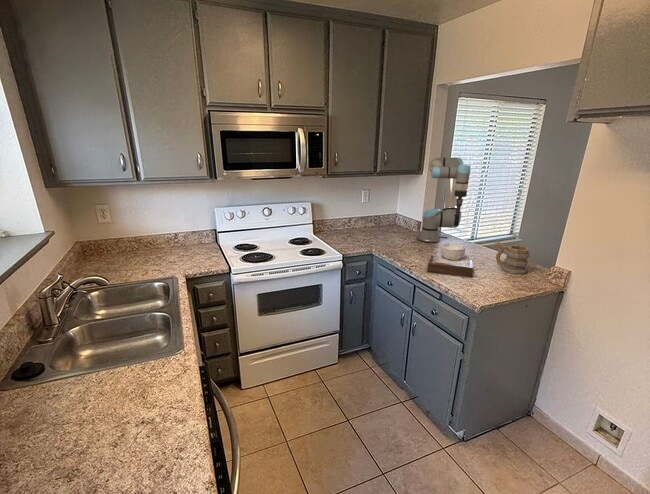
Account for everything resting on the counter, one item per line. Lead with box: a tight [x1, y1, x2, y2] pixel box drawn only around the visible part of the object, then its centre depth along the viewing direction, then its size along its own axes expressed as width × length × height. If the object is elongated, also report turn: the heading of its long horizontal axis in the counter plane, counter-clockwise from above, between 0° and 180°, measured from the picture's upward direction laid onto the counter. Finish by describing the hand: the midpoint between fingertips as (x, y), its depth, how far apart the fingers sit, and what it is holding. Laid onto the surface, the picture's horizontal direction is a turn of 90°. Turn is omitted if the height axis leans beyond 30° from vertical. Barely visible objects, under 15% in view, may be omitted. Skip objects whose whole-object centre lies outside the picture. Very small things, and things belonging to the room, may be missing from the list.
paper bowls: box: [439, 243, 466, 261], centre depth 231 cm, size 15×15×8 cm
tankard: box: [494, 241, 531, 275], centre depth 212 cm, size 20×13×15 cm, turn 42°
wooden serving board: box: [427, 255, 474, 279], centre depth 211 cm, size 17×24×6 cm
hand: (456, 224), depth 237 cm, fingers open, 9 cm apart
